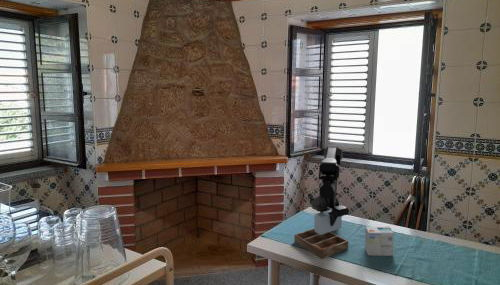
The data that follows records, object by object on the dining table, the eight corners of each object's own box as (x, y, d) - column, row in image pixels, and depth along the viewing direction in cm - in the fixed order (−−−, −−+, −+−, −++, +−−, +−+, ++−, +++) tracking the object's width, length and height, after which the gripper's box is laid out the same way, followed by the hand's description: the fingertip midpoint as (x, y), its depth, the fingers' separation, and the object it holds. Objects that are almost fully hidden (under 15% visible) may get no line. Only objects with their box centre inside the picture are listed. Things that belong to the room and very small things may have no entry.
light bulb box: (389, 248, 158) (390, 225, 156) (393, 256, 151) (394, 232, 149) (364, 248, 159) (364, 225, 157) (367, 255, 152) (368, 232, 150)
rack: (319, 233, 175) (319, 225, 174) (348, 248, 159) (348, 239, 158) (294, 242, 167) (294, 233, 166) (321, 259, 151) (321, 249, 150)
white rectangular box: (335, 224, 161) (335, 208, 160) (341, 227, 158) (341, 210, 156) (314, 231, 155) (314, 214, 154) (320, 234, 152) (320, 217, 150)
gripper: (300, 188, 157) (300, 221, 160) (329, 200, 141) (329, 237, 144) (319, 183, 162) (319, 215, 165) (350, 194, 147) (349, 230, 150)
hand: (328, 224), depth 156 cm, fingers closed on white rectangular box, 4 cm apart
